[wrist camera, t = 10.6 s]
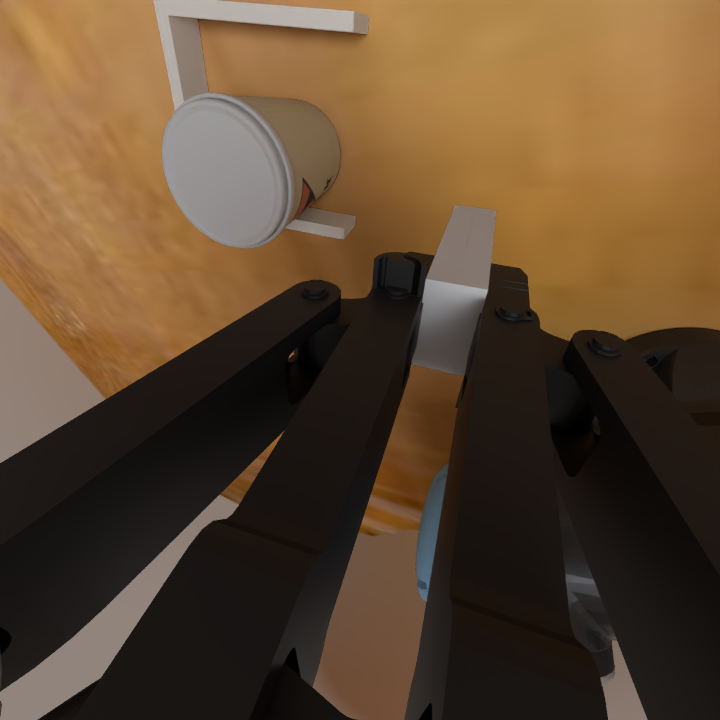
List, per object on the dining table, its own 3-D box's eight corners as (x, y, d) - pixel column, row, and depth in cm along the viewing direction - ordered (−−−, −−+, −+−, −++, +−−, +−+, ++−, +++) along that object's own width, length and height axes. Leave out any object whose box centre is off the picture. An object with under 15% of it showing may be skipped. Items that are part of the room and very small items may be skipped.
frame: (355, 226, 37) (343, 239, 34) (216, 200, 39) (194, 210, 37) (369, 15, 27) (354, 11, 24) (184, 0, 30) (152, -5, 27)
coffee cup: (288, 222, 38) (216, 269, 29) (233, 123, 34) (130, 141, 25) (368, 181, 34) (312, 222, 24) (316, 61, 30) (226, 56, 20)
